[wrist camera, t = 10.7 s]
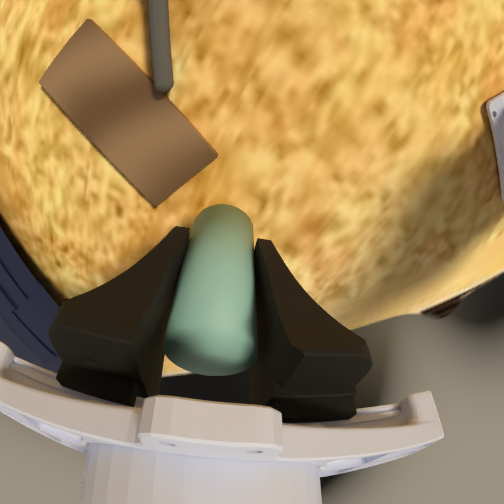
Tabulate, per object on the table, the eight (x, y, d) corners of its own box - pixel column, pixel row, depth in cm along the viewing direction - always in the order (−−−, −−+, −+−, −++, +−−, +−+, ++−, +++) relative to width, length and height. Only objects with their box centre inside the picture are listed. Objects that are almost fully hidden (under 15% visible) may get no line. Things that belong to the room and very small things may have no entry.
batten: (218, 154, 15) (217, 156, 15) (158, 203, 17) (155, 207, 16) (91, 19, 9) (87, 18, 9) (43, 81, 11) (38, 82, 10)
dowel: (265, 236, 14) (276, 358, 8) (219, 264, 15) (208, 382, 9) (227, 192, 13) (212, 311, 7) (180, 226, 14) (144, 345, 8)
